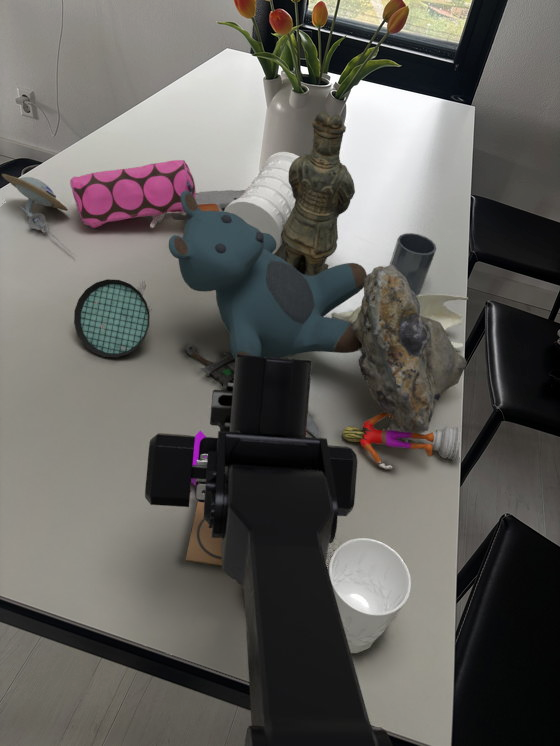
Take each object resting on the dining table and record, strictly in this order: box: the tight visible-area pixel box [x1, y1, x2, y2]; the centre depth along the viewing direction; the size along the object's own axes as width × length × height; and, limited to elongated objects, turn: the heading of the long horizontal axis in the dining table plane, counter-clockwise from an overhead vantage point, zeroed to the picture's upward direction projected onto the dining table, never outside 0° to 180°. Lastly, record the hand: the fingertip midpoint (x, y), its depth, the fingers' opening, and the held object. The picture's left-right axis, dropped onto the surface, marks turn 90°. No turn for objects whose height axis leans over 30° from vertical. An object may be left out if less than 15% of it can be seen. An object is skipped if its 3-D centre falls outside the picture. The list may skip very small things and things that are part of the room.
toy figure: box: [342, 411, 434, 470], centre depth 81 cm, size 8×12×3 cm
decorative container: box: [224, 151, 300, 255], centre depth 113 cm, size 12×12×18 cm
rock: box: [352, 264, 468, 433], centre depth 81 cm, size 25×21×15 cm
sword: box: [185, 344, 320, 438], centre depth 88 cm, size 1×25×7 cm
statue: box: [281, 111, 356, 276], centre depth 100 cm, size 11×9×30 cm
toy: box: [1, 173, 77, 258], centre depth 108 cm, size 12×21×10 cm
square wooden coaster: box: [185, 501, 222, 567], centre depth 70 cm, size 8×8×1 cm
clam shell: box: [330, 293, 469, 349], centre depth 101 cm, size 22×12×12 cm, turn 106°
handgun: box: [170, 189, 246, 222], centre depth 120 cm, size 4×26×15 cm
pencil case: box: [69, 159, 197, 229], centre depth 110 cm, size 21×10×10 cm
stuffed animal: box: [168, 191, 368, 359], centre depth 83 cm, size 23×18×28 cm
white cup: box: [327, 537, 412, 654], centre depth 62 cm, size 8×8×10 cm
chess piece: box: [382, 422, 461, 461], centre depth 84 cm, size 4×4×10 cm
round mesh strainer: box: [73, 278, 152, 358], centre depth 91 cm, size 11×12×6 cm
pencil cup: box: [389, 232, 437, 296], centre depth 110 cm, size 7×7×9 cm
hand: (246, 463), depth 64 cm, fingers closed on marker, 3 cm apart
